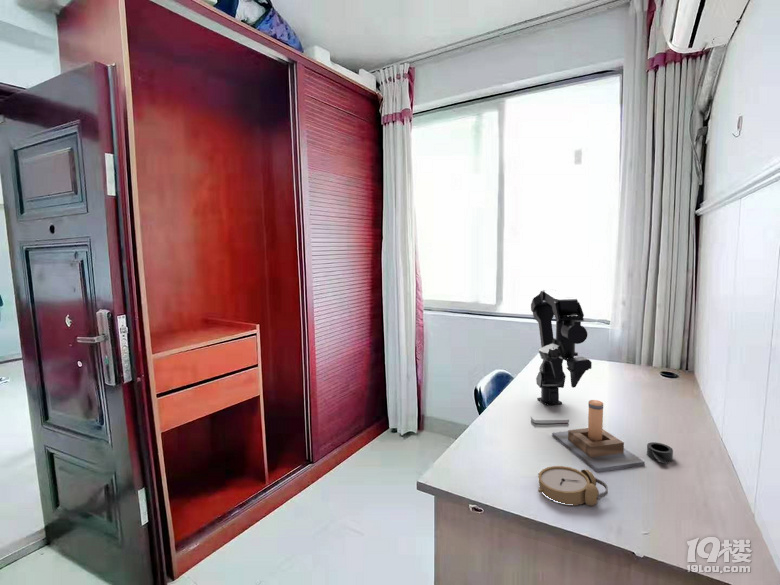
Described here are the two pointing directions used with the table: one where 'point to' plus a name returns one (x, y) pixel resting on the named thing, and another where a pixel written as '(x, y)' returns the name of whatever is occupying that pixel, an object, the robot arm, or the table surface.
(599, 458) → the block
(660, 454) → the black hollow winged cylinder
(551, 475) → the alarm clock
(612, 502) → the table surface
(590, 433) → the terracotta pin
